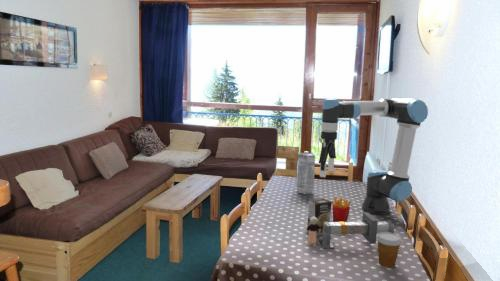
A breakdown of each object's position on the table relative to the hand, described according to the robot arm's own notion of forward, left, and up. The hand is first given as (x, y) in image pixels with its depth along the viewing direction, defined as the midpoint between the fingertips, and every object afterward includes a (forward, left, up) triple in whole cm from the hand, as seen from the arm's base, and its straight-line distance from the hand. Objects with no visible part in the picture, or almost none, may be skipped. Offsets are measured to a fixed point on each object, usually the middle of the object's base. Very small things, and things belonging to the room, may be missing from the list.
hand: (326, 173), depth 195 cm
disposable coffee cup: (-14, +41, -28) cm, 51 cm away
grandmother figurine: (+11, +20, -28) cm, 35 cm away
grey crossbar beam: (-9, +22, -27) cm, 36 cm away
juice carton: (-5, -58, -28) cm, 65 cm away
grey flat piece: (-14, +22, -24) cm, 36 cm away
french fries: (-9, -1, -28) cm, 29 cm away
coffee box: (+5, +8, -28) cm, 29 cm away
